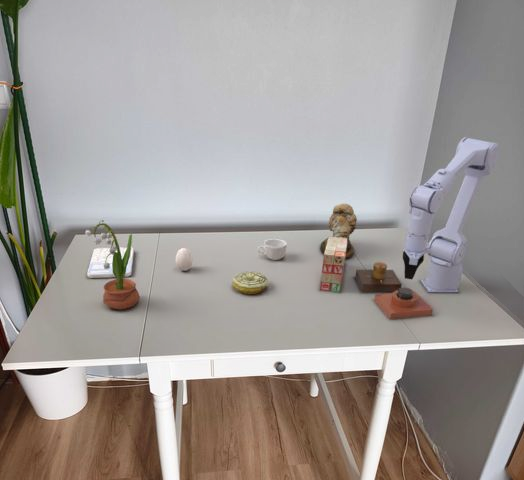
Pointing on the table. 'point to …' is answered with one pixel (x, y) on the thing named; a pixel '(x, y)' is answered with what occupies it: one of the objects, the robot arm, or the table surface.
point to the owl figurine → (342, 226)
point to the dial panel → (377, 282)
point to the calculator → (99, 259)
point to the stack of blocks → (333, 264)
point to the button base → (402, 305)
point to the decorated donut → (250, 282)
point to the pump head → (405, 293)
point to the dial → (379, 270)
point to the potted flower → (117, 273)
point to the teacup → (274, 248)
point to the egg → (184, 259)
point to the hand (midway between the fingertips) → (408, 278)
